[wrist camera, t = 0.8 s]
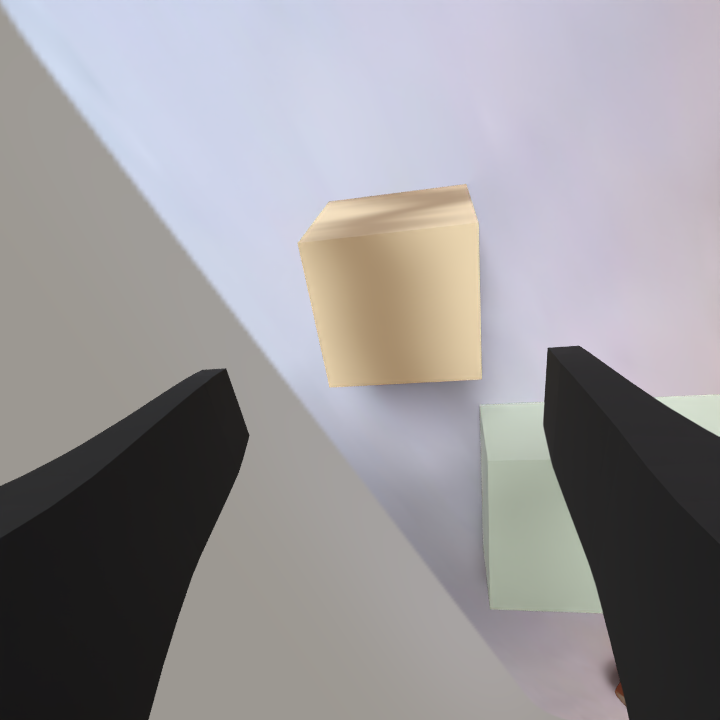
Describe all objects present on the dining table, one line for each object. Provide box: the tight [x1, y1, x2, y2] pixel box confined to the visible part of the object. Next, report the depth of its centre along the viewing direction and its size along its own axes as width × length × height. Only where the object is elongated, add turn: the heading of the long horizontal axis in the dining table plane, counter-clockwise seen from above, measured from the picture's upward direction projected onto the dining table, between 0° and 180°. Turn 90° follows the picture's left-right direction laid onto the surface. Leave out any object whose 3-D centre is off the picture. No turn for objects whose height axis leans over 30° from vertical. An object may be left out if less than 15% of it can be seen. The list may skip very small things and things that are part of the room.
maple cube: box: [298, 184, 482, 387], centre depth 16 cm, size 5×5×5 cm
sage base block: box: [480, 394, 720, 613], centre depth 22 cm, size 10×10×4 cm
